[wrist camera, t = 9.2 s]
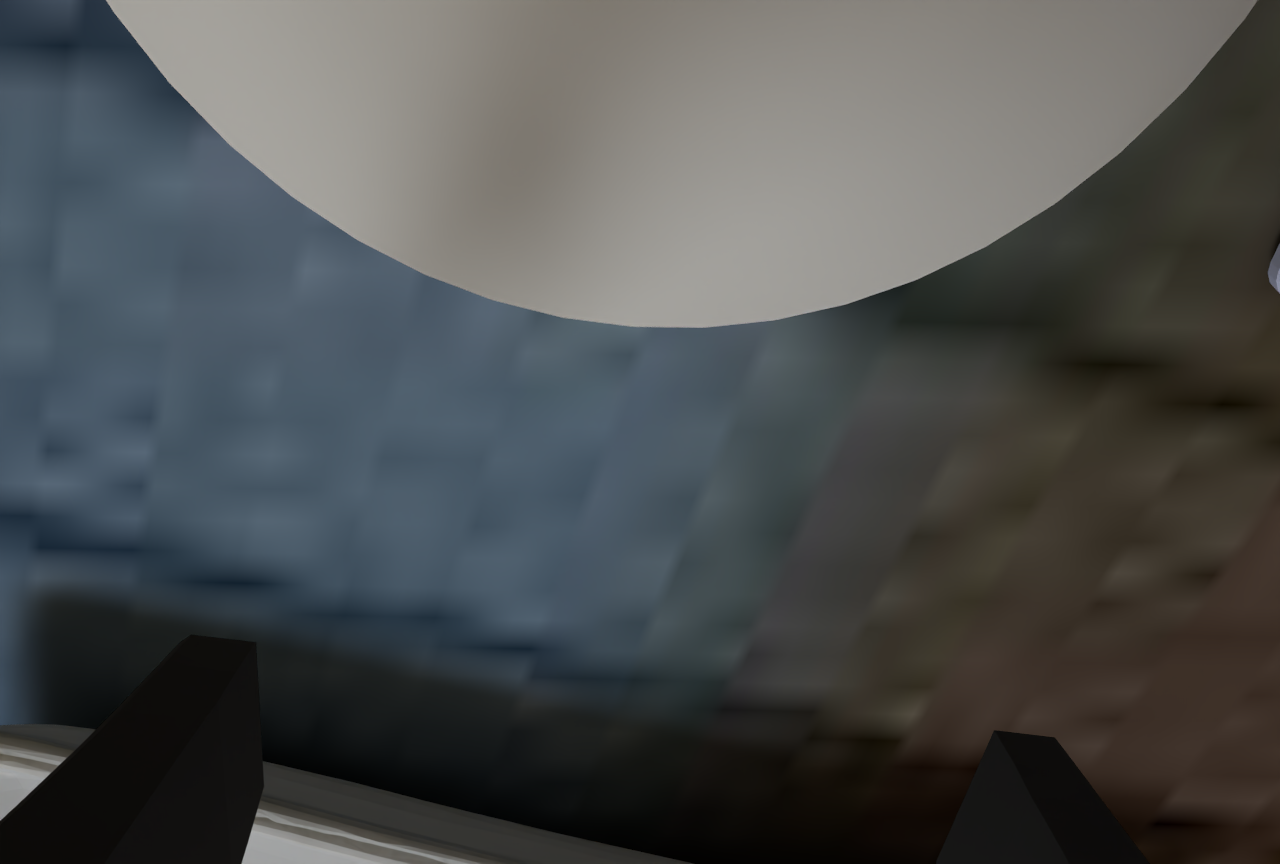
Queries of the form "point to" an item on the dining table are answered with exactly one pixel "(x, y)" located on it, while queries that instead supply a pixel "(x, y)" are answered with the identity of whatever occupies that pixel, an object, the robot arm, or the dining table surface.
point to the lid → (679, 133)
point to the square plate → (335, 817)
